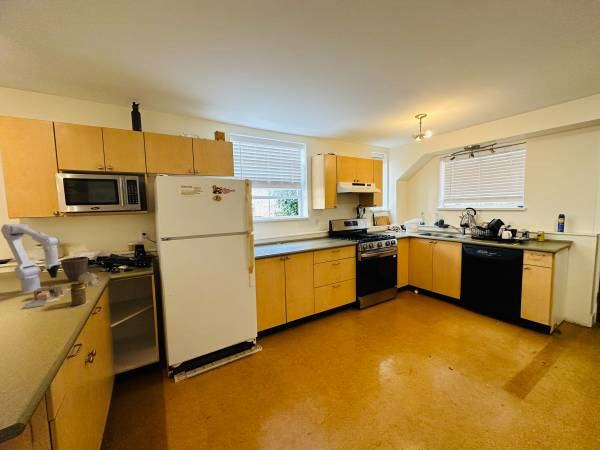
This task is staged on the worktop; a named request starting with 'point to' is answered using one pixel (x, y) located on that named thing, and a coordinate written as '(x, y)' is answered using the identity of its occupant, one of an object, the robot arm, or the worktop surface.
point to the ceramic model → (89, 279)
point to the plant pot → (74, 267)
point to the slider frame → (41, 302)
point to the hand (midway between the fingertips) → (53, 277)
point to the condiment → (78, 295)
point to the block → (43, 296)
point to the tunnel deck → (58, 294)
